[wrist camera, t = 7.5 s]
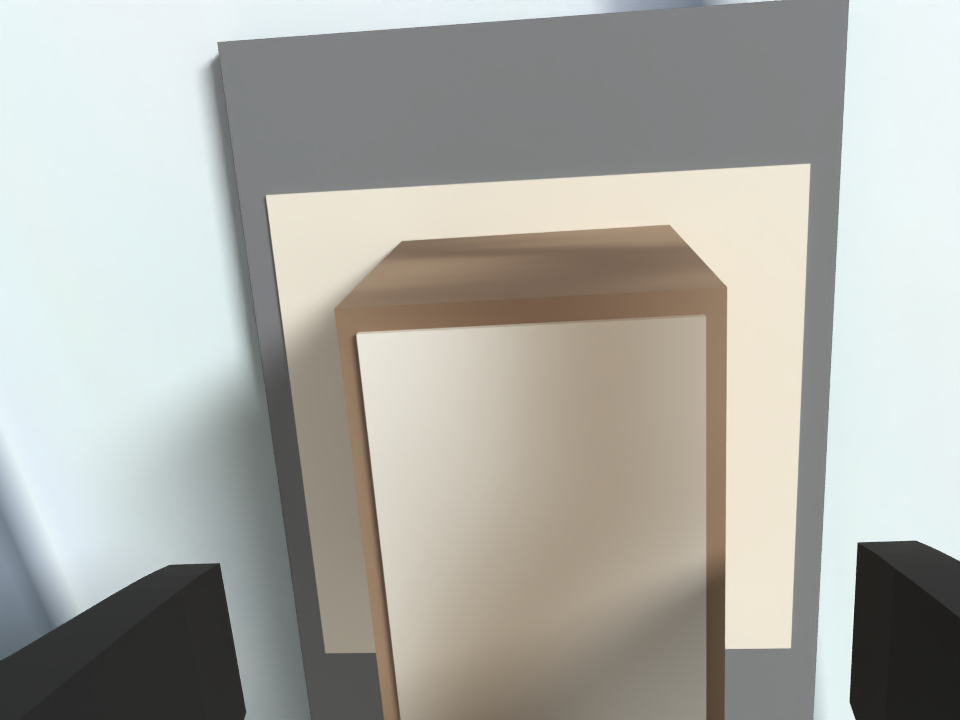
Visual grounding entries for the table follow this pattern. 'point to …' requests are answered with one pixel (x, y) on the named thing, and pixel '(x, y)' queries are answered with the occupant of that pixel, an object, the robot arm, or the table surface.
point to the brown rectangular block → (542, 475)
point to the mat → (550, 208)
